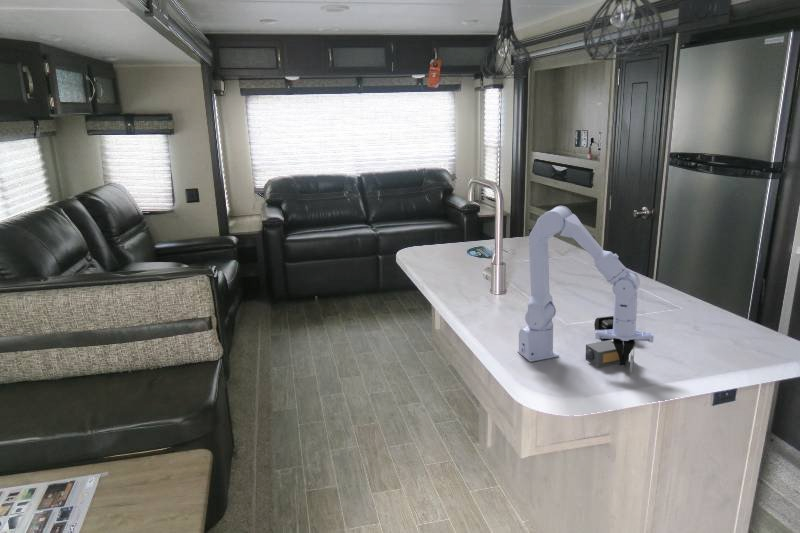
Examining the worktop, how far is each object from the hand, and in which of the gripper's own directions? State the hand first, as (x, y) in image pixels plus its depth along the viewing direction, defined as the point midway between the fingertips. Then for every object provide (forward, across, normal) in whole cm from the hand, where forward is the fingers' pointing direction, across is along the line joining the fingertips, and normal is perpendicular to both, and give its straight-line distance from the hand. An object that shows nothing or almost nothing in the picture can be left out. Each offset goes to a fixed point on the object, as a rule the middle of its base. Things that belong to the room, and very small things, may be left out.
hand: (622, 364), depth 156 cm
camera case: (+1, -4, +5) cm, 6 cm away
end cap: (+2, -1, +22) cm, 23 cm away
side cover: (+1, +2, +1) cm, 3 cm away
